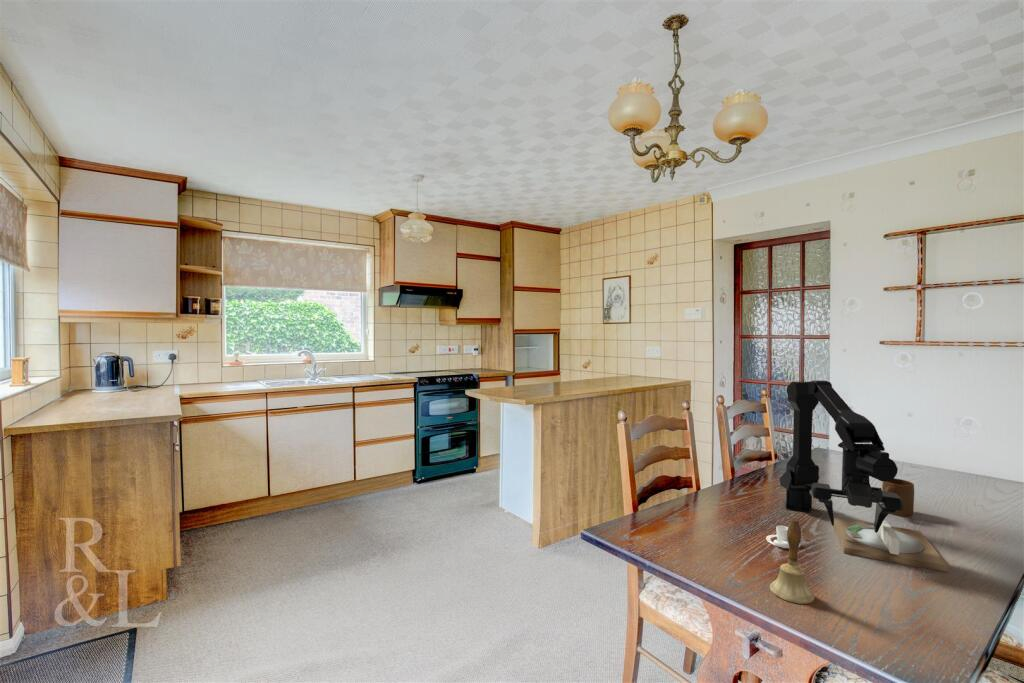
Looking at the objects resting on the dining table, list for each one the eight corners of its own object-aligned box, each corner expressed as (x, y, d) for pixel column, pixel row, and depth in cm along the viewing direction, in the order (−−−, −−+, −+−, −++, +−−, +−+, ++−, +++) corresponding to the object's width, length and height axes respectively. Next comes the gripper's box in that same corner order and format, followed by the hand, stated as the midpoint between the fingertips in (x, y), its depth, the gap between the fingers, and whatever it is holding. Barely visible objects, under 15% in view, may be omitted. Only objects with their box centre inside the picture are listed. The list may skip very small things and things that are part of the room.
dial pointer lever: (871, 526, 132) (871, 511, 132) (883, 528, 131) (883, 513, 131) (887, 554, 116) (888, 537, 116) (901, 556, 115) (901, 539, 115)
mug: (901, 522, 139) (902, 490, 139) (871, 513, 146) (872, 482, 145) (917, 513, 146) (918, 483, 145) (887, 505, 152) (888, 476, 152)
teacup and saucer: (786, 553, 121) (786, 537, 121) (757, 540, 128) (757, 525, 128) (807, 546, 125) (807, 530, 125) (778, 534, 132) (778, 519, 132)
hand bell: (798, 582, 107) (800, 511, 106) (823, 604, 98) (825, 527, 98) (761, 582, 106) (763, 512, 106) (784, 604, 98) (786, 528, 98)
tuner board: (843, 553, 120) (844, 545, 120) (831, 522, 139) (831, 515, 139) (947, 571, 111) (947, 563, 111) (919, 536, 130) (919, 529, 130)
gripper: (816, 472, 121) (814, 533, 121) (910, 483, 112) (908, 549, 113) (811, 461, 131) (810, 517, 131) (897, 470, 122) (895, 531, 123)
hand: (853, 528), depth 124 cm, fingers open, 9 cm apart
